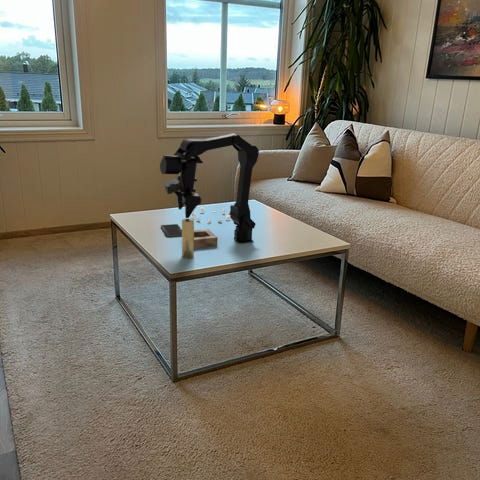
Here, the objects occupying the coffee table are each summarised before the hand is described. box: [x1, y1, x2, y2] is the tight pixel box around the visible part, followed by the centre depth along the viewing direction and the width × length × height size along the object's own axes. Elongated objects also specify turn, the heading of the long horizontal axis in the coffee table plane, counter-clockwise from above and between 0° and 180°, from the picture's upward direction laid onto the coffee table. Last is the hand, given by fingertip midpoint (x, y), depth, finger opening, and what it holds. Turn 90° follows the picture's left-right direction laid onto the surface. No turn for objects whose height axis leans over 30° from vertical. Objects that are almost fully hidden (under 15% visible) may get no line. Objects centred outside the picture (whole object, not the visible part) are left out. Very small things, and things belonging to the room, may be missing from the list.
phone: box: [160, 223, 182, 238], centre depth 204 cm, size 8×1×15 cm
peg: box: [181, 218, 195, 259], centre depth 175 cm, size 4×4×14 cm
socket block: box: [194, 228, 218, 249], centre depth 191 cm, size 11×11×4 cm
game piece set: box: [190, 206, 231, 225], centre depth 225 cm, size 19×20×4 cm
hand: (183, 213), depth 179 cm, fingers open, 9 cm apart
